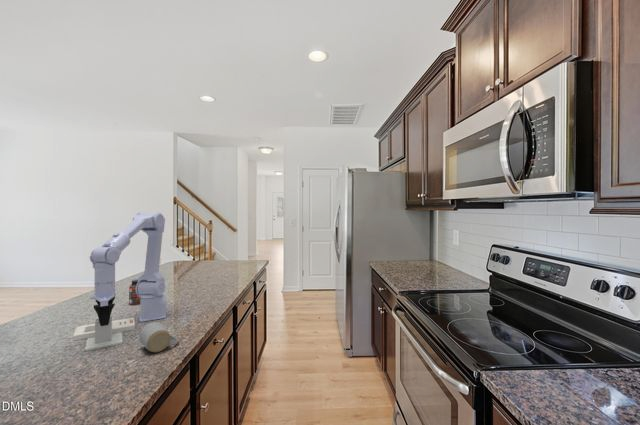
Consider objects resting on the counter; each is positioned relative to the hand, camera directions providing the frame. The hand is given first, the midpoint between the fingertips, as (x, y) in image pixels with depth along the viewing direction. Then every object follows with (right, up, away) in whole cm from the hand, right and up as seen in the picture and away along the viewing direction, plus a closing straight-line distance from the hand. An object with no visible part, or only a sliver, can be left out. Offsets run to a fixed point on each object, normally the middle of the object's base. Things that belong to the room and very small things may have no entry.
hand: (104, 321), depth 102 cm
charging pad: (0, -7, 0) cm, 7 cm away
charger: (0, -6, 0) cm, 6 cm away
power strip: (-7, -7, +10) cm, 14 cm away
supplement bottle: (-15, -7, +43) cm, 46 cm away
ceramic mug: (+21, -7, -4) cm, 22 cm away
